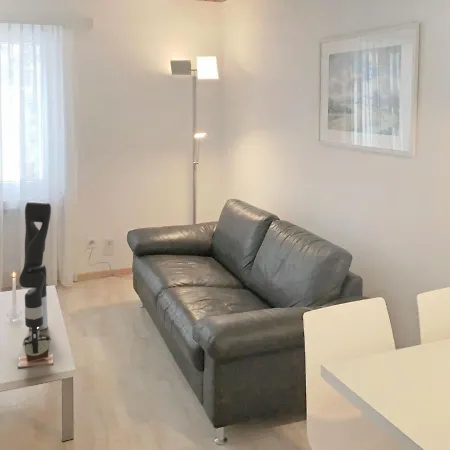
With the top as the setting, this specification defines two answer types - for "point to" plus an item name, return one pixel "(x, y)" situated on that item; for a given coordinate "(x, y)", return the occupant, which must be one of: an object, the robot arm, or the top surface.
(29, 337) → the food container
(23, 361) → the picture board
